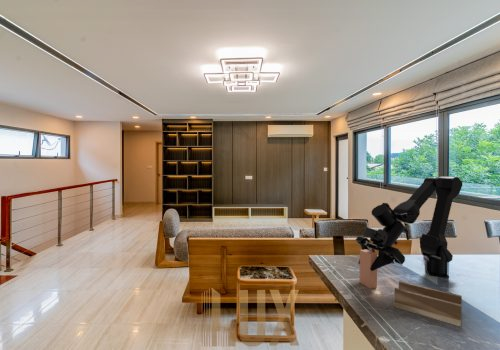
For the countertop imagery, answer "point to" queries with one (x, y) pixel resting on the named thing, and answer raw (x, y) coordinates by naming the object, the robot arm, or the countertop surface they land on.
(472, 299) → the countertop surface
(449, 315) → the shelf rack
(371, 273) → the salmon orange rectangular block
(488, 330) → the countertop surface
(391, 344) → the countertop surface
